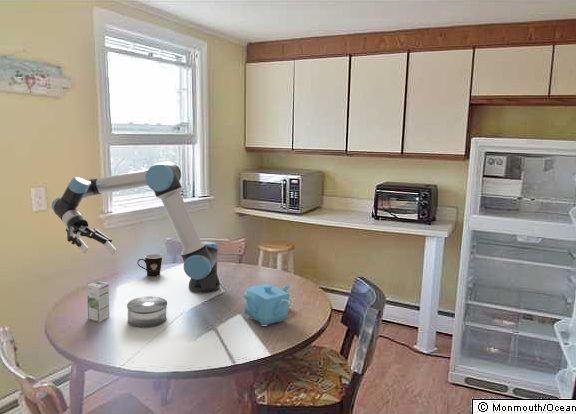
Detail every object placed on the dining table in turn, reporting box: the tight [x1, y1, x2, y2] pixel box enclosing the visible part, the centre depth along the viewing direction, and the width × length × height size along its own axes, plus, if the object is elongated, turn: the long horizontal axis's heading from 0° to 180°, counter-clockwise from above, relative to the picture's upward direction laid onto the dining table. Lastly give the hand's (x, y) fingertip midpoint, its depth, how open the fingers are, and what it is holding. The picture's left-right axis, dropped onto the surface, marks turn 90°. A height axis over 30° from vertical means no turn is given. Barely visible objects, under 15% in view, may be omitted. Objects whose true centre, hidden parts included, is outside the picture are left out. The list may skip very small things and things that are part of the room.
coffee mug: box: [136, 253, 163, 278], centre depth 217 cm, size 12×9×10 cm
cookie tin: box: [126, 295, 168, 329], centre depth 165 cm, size 15×15×7 cm
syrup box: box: [86, 280, 110, 323], centre depth 163 cm, size 6×6×14 cm
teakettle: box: [241, 283, 292, 325], centre depth 171 cm, size 19×19×15 cm
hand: (100, 251), depth 169 cm, fingers open, 13 cm apart
